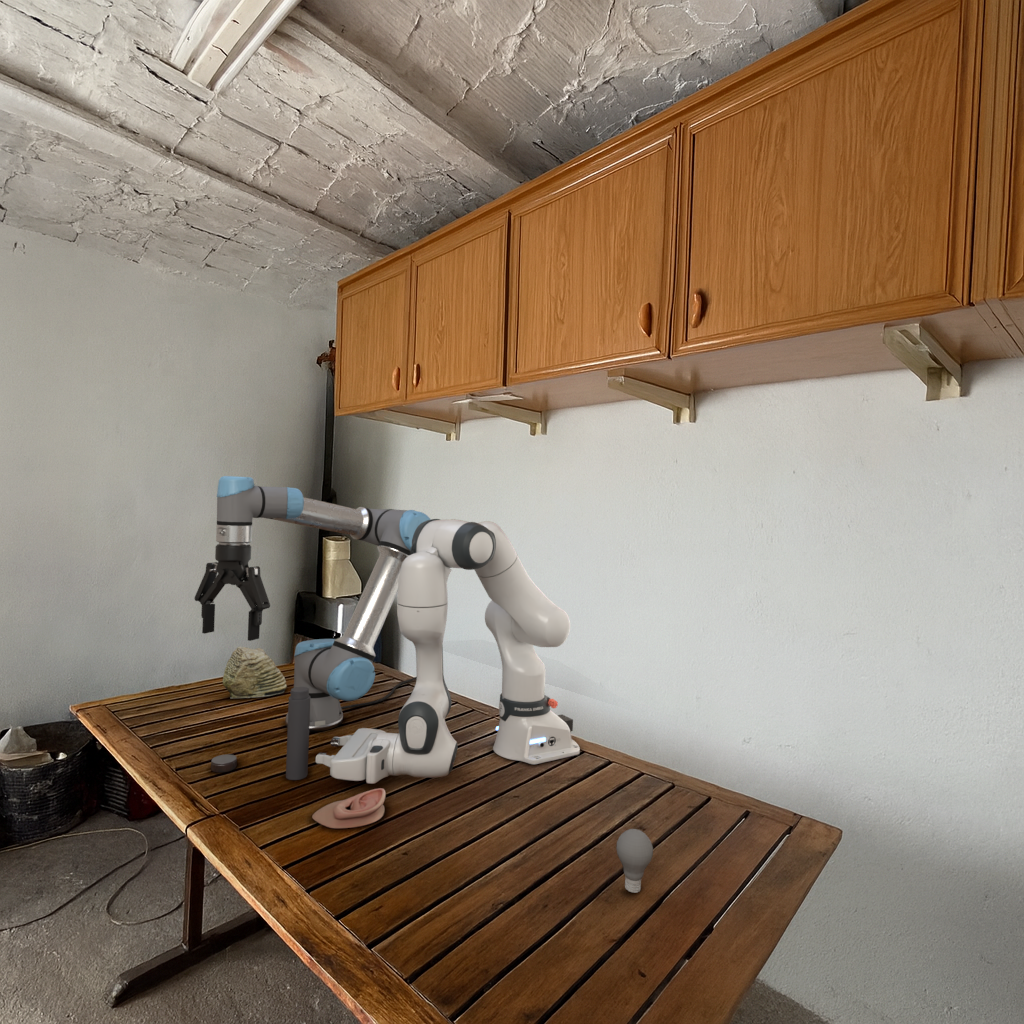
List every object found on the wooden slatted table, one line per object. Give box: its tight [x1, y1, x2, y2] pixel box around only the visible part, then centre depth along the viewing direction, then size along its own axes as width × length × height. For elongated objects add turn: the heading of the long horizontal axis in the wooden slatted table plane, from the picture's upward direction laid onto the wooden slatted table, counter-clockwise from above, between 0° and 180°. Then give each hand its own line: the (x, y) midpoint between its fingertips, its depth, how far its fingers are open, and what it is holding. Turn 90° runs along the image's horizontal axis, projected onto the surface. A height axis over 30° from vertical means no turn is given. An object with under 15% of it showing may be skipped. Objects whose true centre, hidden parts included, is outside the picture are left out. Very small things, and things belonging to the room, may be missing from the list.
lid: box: [210, 753, 238, 773], centre depth 146 cm, size 5×5×2 cm
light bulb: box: [615, 828, 654, 894], centre depth 106 cm, size 6×6×10 cm
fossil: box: [222, 646, 288, 699], centre depth 198 cm, size 9×18×15 cm, turn 132°
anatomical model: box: [311, 787, 387, 829], centre depth 126 cm, size 13×4×12 cm
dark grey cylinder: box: [285, 687, 311, 781], centre depth 143 cm, size 5×5×20 cm
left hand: (230, 636), depth 145 cm, fingers open, 13 cm apart
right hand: (324, 749), depth 143 cm, fingers open, 8 cm apart
